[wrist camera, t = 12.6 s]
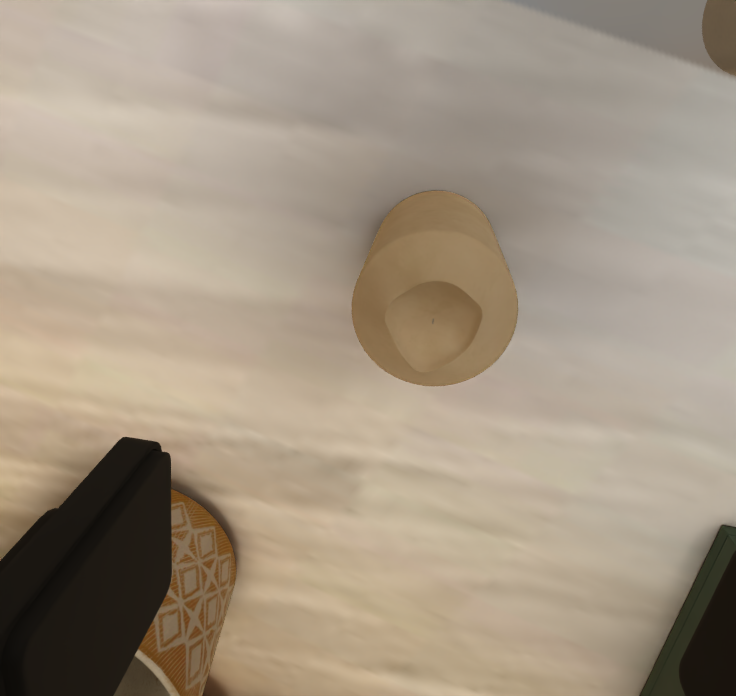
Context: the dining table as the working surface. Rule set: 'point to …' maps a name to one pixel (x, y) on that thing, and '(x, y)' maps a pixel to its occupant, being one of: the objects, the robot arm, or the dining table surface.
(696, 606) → the chest
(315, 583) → the dining table surface
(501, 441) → the dining table surface
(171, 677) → the planter
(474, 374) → the candle
